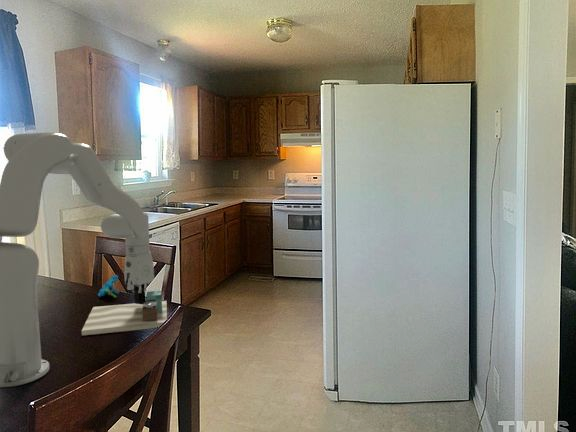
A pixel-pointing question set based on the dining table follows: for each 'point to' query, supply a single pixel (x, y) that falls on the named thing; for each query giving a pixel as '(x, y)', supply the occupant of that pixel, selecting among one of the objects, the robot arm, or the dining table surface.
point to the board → (121, 319)
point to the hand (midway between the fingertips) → (140, 303)
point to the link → (149, 311)
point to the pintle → (149, 304)
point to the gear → (109, 287)
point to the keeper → (158, 297)
